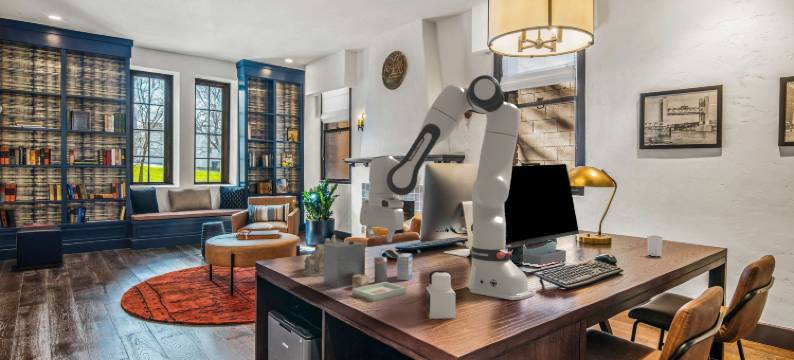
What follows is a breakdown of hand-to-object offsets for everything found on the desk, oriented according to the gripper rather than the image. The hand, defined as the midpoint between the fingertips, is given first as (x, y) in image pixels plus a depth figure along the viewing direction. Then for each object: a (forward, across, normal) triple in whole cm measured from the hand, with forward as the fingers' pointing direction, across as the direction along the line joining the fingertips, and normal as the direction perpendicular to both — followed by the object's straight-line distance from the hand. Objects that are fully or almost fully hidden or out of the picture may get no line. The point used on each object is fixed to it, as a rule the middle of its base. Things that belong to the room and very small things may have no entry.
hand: (380, 239), depth 159 cm
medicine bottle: (+15, +38, -11) cm, 43 cm away
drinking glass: (+14, +47, +136) cm, 145 cm away
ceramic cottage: (+16, -30, -5) cm, 34 cm away
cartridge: (+15, 0, 0) cm, 15 cm away
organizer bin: (+14, +18, +78) cm, 82 cm away
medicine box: (+16, 0, +12) cm, 20 cm away
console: (+16, -8, -10) cm, 20 cm away
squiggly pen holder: (+15, +16, +79) cm, 82 cm away
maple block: (+16, 0, -9) cm, 18 cm away
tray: (+15, +11, -10) cm, 21 cm away
